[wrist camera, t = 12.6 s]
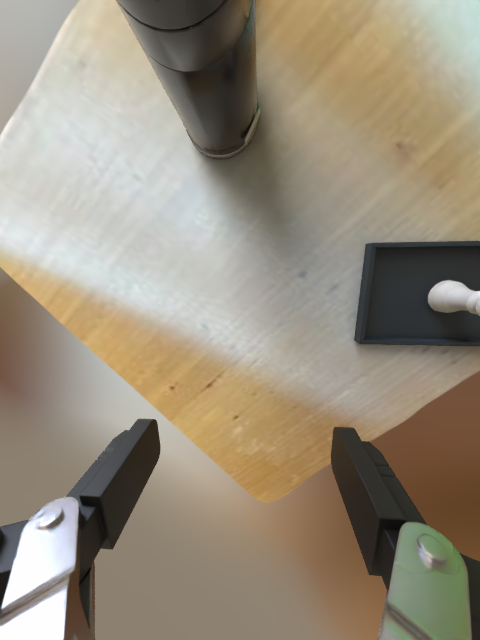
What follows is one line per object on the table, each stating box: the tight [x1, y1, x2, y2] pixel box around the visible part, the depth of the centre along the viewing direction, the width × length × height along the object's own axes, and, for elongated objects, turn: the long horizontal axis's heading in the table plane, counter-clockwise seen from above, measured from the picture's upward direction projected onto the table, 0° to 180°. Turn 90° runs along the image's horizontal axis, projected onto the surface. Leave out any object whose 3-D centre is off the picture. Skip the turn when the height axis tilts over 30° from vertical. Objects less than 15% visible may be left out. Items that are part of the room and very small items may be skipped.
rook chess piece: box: [428, 280, 480, 316], centre depth 28 cm, size 4×4×8 cm
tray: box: [354, 241, 480, 346], centre depth 31 cm, size 14×20×2 cm
